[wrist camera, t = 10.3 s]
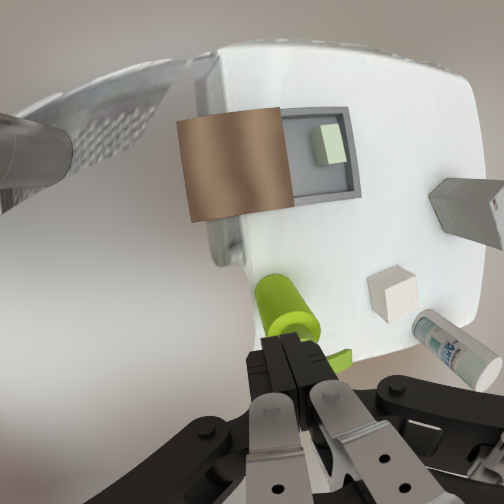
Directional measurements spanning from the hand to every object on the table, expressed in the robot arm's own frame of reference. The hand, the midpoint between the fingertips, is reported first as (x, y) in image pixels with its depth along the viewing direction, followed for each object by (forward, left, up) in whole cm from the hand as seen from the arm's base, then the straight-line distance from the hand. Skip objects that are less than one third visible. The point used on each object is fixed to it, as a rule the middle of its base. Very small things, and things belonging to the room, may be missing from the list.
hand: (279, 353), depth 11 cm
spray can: (+32, -22, -29) cm, 49 cm away
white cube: (+22, -12, -29) cm, 39 cm away
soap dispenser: (+4, -9, -29) cm, 31 cm away
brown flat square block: (0, +10, -29) cm, 31 cm away
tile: (+12, +11, -26) cm, 30 cm away
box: (+12, +10, -29) cm, 33 cm away
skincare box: (+36, 0, -29) cm, 47 cm away
